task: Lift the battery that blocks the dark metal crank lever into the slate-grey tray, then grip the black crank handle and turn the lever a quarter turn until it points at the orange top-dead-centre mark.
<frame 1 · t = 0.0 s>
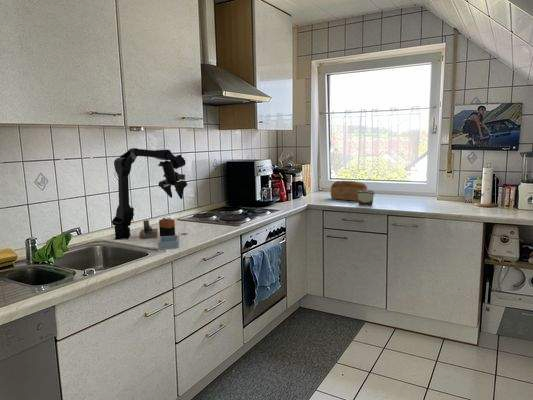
hand: (176, 198, 224), 15 cm above the worktop, tool pointing down, fingers open, 9 cm apart
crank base: (149, 236, 202), on the worktop
bread: (348, 200, 304), on the worktop
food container: (366, 205, 279), on the worktop
battery: (167, 238, 198), on the worktop
crank: (146, 226, 194), point 6 cm above the worktop, hinge at -90.0°
tray: (169, 245, 184), on the worktop
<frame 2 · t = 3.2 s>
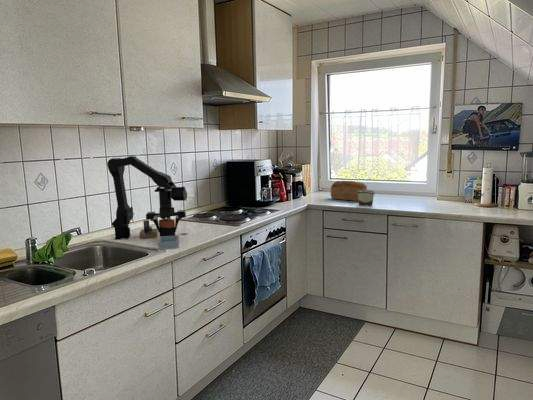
hand: (167, 231, 198), 3 cm above the worktop, tool pointing down, fingers closed on battery, 7 cm apart
battery: (167, 238, 198), on the worktop, touching gripper
everything else where it was.
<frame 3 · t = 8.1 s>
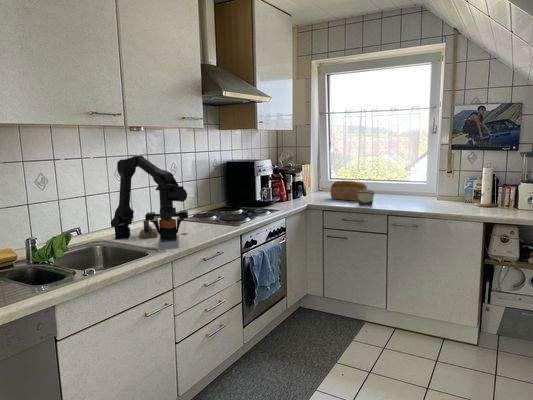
hand: (168, 233, 183), 5 cm above the worktop, tool pointing down, fingers closed on battery, 7 cm apart
battery: (168, 239, 184), point 3 cm above the worktop, touching gripper, tray
everything else where it was.
when the fingers open (6 cm above the worktop, at t = 12.7 s): battery stays where it is, resting on tray.
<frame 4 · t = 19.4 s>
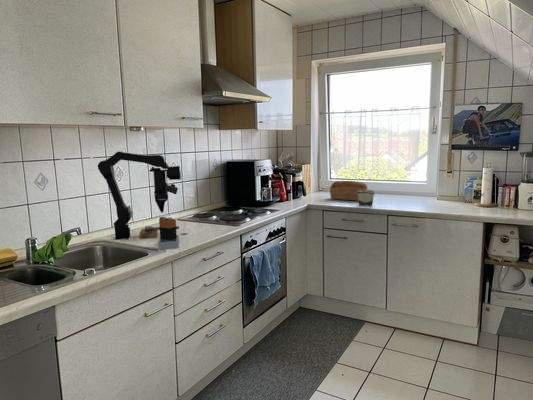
hand: (161, 211, 202), 12 cm above the worktop, tool pointing down, fingers open, 9 cm apart
battery: (168, 239, 184), point 3 cm above the worktop, touching tray
crank: (161, 223, 202), point 6 cm above the worktop, hinge at -4.0°
at the end: battery 0.1 cm off-centre on the tray, point 2.8 cm above the tray's base; crank at -4° (first picture: -90°); the gripper is holding nothing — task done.
